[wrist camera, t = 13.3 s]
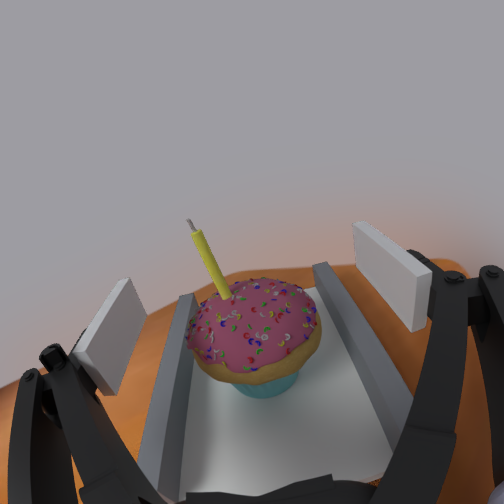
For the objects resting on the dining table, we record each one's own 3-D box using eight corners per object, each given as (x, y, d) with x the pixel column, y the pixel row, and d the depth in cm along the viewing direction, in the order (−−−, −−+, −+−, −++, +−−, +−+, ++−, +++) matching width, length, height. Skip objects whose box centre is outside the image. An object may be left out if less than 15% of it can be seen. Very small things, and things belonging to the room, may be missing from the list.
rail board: (424, 458, 10) (442, 430, 9) (157, 507, 11) (124, 487, 9) (334, 291, 29) (331, 260, 27) (187, 325, 29) (175, 296, 28)
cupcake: (193, 411, 17) (111, 256, 13) (231, 334, 24) (188, 203, 20) (319, 423, 14) (290, 235, 10) (330, 333, 22) (309, 182, 17)
